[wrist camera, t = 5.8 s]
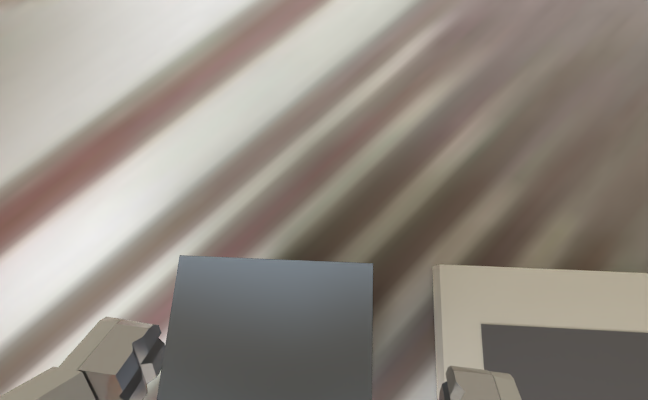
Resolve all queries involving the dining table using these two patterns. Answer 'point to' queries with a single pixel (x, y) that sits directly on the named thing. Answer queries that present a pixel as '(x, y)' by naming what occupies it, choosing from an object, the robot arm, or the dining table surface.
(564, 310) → the letter board
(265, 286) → the gray block
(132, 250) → the dining table surface
